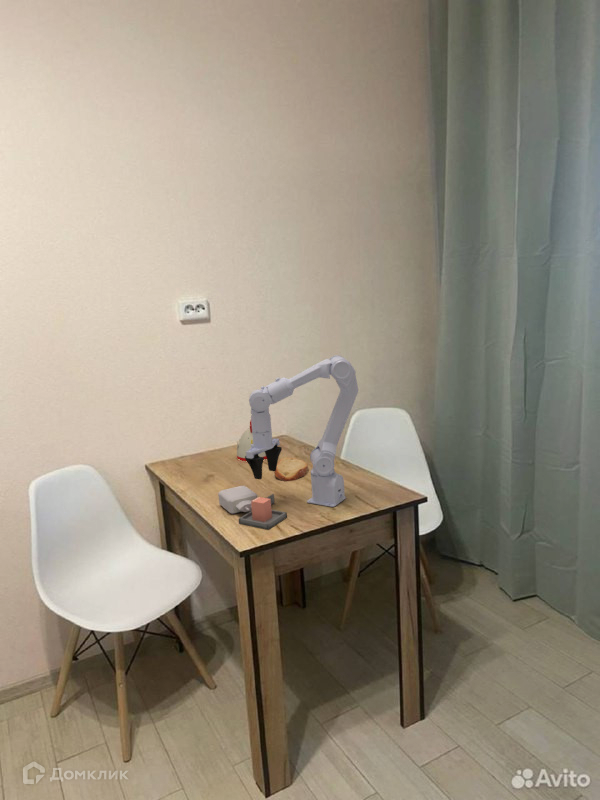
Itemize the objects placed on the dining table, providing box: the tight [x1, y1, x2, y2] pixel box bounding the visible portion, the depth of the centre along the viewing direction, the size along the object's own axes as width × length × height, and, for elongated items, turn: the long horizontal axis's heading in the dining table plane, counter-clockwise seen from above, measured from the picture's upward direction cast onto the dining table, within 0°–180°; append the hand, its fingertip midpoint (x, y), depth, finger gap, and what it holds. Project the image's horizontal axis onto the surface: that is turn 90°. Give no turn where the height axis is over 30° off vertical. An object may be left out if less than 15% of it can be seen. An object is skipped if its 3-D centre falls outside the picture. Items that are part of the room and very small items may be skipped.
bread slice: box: [273, 457, 309, 482], centre depth 207 cm, size 18×18×4 cm
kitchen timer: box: [236, 419, 267, 461], centre depth 225 cm, size 14×14×15 cm
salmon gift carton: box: [251, 496, 273, 522], centre depth 165 cm, size 4×4×6 cm
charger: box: [218, 485, 258, 515], centre depth 174 cm, size 5×9×15 cm
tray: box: [238, 509, 288, 531], centre depth 165 cm, size 10×9×2 cm
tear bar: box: [266, 493, 275, 506], centre depth 175 cm, size 1×6×3 cm, turn 148°
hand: (265, 474), depth 174 cm, fingers open, 7 cm apart
